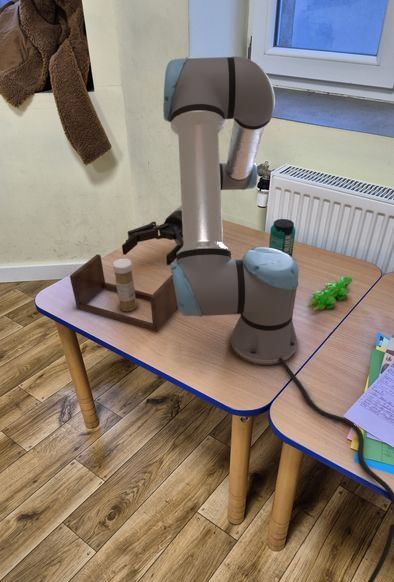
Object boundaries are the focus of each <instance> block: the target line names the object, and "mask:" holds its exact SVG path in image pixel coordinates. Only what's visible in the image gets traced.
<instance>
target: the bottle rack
mask: <svg viewBox="0 0 394 582" xmlns="http://www.w3.org/2000/svg"><path fill="white" fill-rule="evenodd" d="M69 279H70V284H71V288H72V292H73V297H74V302H75V306H76V309H78V310H81V311H83V312H84V311H85V312H88V313H90V314H91V313H92V314H94V315H98V316H102V317H105V318H108V319H112V320H115V321H119V322H122V323H126V324H130V325H133V326H136V327H140V328H142V329H146V330H149V331H153V332H157V333H158V332H159V331H160V330H161V329H162V328H163V326H164V325H165V324H166V322H167V321H168V320H169V319H170V318H171V317H172V315H173V314H174V313H175V312H177V310H178V305H177V299H176V294H175V288H174V283H173V277H172V274H170V276H169V277H168V278H167V279H166V280H165V281H164V282H163V283H162V284H161V285H160V286H159V288H157V289H156V290H155V291H154V292H153V293H148V292H144V291H140V290H136V289H135V298H138V299H142V300H145V301H148V302H149V301H150V309H151V310H150V311H151V320H152V322H150V321H146V320H144V319H139V318H136V317H132V316H128V315H126V314H122V313H119V312H116V311H112V310H108V309H104V308H101V307H97V306H94V305H90V304H88V303H89V302H90V301H92V300H93V299H94V298H95V297H96V296H97V295H98V294H99V293H101V292H102V291H103V290H104V289H105V290H107V291H112V292H115V293H118V292H117V285H116V284H114V283H111V282H110V283H109V282H107V281H106V279H105V273H104V266H103V262H102V256H101V254H97V253H96V255H94V256H93V257H92V258H90V259H89V260H88V261H86V262H85V263H84V264H83V265H81V266H80V267H79V268H78V269H76V270H75V271H74V272H72V273H71V274H70V275H69Z"/></svg>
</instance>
